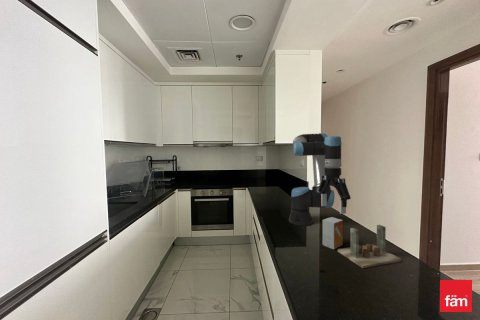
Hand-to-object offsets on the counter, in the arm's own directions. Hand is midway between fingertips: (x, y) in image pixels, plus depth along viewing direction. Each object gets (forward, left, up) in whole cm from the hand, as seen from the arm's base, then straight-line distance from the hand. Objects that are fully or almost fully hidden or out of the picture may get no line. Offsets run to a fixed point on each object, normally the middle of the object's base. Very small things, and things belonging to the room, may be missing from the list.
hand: (332, 209), depth 97 cm
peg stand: (+13, +8, -18) cm, 24 cm away
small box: (0, 0, -18) cm, 19 cm away
